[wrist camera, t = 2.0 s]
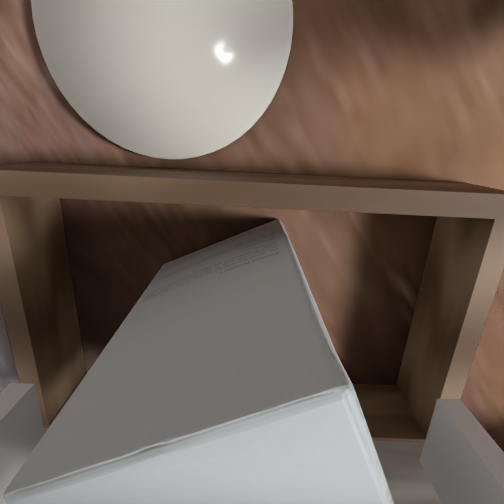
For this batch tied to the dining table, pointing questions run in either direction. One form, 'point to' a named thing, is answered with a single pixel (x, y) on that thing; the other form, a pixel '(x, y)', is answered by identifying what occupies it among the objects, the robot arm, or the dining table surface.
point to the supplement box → (213, 396)
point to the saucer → (166, 67)
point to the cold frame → (278, 197)
